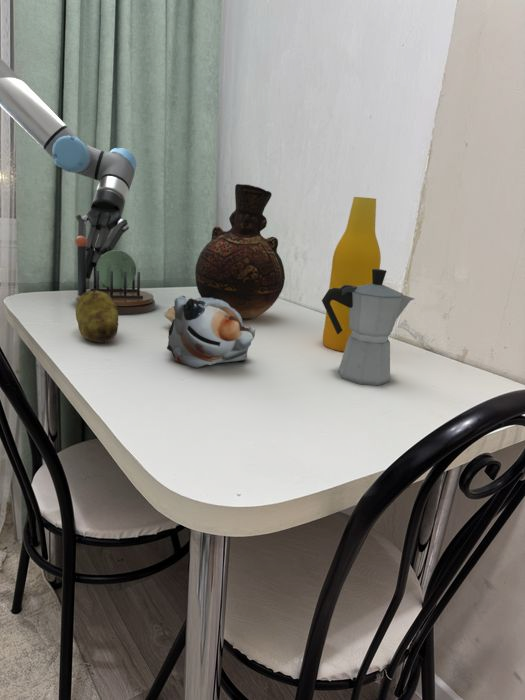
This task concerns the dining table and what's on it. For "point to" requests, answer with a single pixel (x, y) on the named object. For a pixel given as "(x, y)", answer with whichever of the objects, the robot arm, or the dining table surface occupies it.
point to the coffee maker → (367, 328)
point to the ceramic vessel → (242, 258)
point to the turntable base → (133, 308)
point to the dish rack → (112, 276)
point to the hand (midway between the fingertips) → (85, 274)
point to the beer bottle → (352, 265)
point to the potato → (97, 316)
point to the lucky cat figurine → (207, 332)
